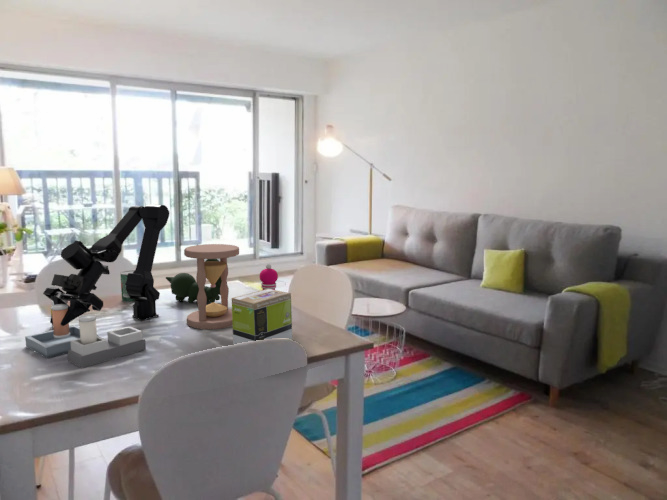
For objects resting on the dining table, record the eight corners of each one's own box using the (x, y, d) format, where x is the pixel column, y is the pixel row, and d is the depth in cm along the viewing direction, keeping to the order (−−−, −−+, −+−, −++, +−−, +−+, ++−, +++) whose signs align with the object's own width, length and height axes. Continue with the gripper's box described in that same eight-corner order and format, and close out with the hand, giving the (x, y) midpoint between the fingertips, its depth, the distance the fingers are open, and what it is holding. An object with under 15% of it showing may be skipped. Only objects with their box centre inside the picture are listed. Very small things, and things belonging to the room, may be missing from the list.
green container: (122, 298, 199) (121, 270, 198) (144, 297, 202) (142, 269, 200) (120, 303, 192) (119, 274, 190) (143, 302, 194) (141, 273, 192)
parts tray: (76, 334, 156) (75, 325, 155) (98, 344, 147) (97, 334, 147) (26, 346, 145) (25, 336, 144) (47, 358, 136) (46, 347, 136)
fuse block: (132, 343, 148) (131, 325, 147) (145, 349, 144) (144, 330, 143) (68, 361, 134) (67, 341, 134) (81, 368, 130) (79, 347, 129)
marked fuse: (71, 333, 148) (69, 303, 147) (68, 337, 144) (66, 307, 143) (55, 334, 147) (53, 304, 146) (51, 339, 143) (49, 308, 142)
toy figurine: (229, 305, 196) (171, 295, 202) (232, 257, 193) (173, 248, 199) (217, 312, 187) (157, 301, 193) (220, 262, 184) (159, 252, 190)
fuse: (93, 345, 138) (91, 313, 136) (101, 349, 135) (99, 316, 134) (77, 349, 134) (75, 316, 133) (85, 353, 132) (82, 320, 130)
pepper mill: (284, 322, 170) (284, 264, 167) (267, 327, 165) (267, 266, 161) (270, 318, 175) (270, 261, 171) (253, 322, 169) (252, 263, 166)
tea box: (269, 333, 159) (269, 287, 157) (292, 340, 153) (292, 292, 150) (231, 346, 147) (230, 296, 145) (255, 354, 141) (254, 302, 139)
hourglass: (213, 333, 159) (211, 254, 155) (175, 323, 168) (172, 248, 164) (251, 319, 173) (250, 246, 169) (214, 311, 182) (212, 242, 179)
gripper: (46, 260, 150) (13, 305, 141) (92, 265, 142) (60, 313, 134) (71, 281, 158) (41, 325, 150) (116, 287, 150) (87, 334, 142)
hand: (56, 324), depth 144 cm, fingers closed on marked fuse, 4 cm apart
